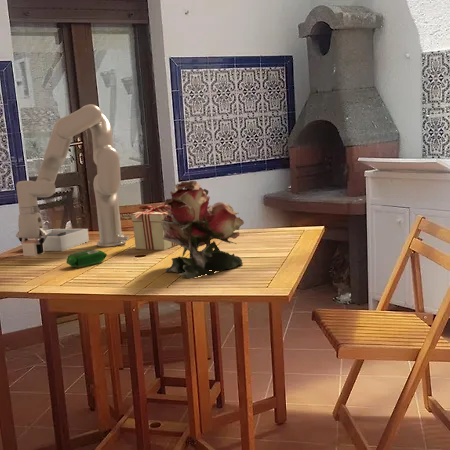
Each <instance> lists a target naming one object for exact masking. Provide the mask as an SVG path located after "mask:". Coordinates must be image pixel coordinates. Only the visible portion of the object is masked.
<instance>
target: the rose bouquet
mask: <svg viewBox="0 0 450 450" xmlns="http://www.w3.org/2000/svg"><path fill="white" fill-rule="evenodd" d="M203 190H204V189H203V188H202V186H201V184H199V182H198V180H197V181H196V180H190V181H188V180H187V181H183V180H182V181H180V183H177V184H175V186H174V191H172V190H171V191H170V192H169V193H170V196H171V198H166V199H165V200H164V204H163V206H165V205H167V206H168V208H165V209H167V213H168V215H167V216H166V217H165V218H164V219H163V220H162V221H163V222H162V223H161V225H162V227H163V231H164V237H163V238H162V239H164V240H167V241H170V242H173V243H176V244H178V245H177V246H180V247H182V248H183V251H182V256H180V255H179V256H177V257H173V258H171V259H170V260H172V263H171V266H169V267H167V268H166V270H165V271H166V272H165V273H170V272H171V273H172V272H174V273H177V276H181V277H184V278H187V279H188V278H193V279H195V278H194V277H198V276H201V275H205V274H207V275H209V276H212V275H215V274H214V272H215V271H220V272H222V271H225V270H230V269H234V268H236V267H238V266H239V265H243V263H244V262H243V259H241V257H240V256H238V255H235V253H232V254H231V253H229V252H225V251H222V250H221V249H220V248H219V247H218V245H217V243H216V242H215V240H220V241H222V242H225V243H228V244H231V243H232V244H235V245H237V243H236V242H233V241H231V240H229V239H233V240H234V239H235V240H236V239H237V238H238V237H240V232H239V230H240V227H241V226H243V225H244V224H245V222H244V220H243V219H241V217H237V215H239V212H237V211H234V208H233V207H232V206H231V205H230V204H229V203H225V202H223V201H222V202H221V201H217V202H215V203H213V204H211V205H209V204H210V200H211V197H210V196H209V195H207V196H206V192H204V191H203ZM235 231H236V232H235ZM212 240H213V242H211V241H212ZM202 246H203V247H204V246H205V247H204V248H203V249H202V250H200V251H199V247H202ZM187 251H189V257H185V254H186V252H187ZM209 270H212V271H209ZM184 271H185V272H184Z"/></svg>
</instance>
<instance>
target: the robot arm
mask: <svg viewBox="0 0 450 450" xmlns="http://www.w3.org/2000/svg"><path fill="white" fill-rule="evenodd" d="M88 129H89V130H90V132H91V138H92V151H93V152H92V153H93V155H92V159H93V162H94V164H95V165H96V172H97V174H96V175H95V176H94V178H93V192H94V196H95V204H96V214H97V216H96V217H97V223H98V224H97V226H98V234H99V241H97V242H96V246H97V247H102V248H105V247H116V246H122V245H125V244H126V243H127V241H129V239H130V235H125V232H122V223H121V215H120V204H119V203H120V201H119V195H118V191H120V189H121V185H122V184H121V183H122V181H121V179H122V177H121V163H120V156H119V153H118V151H117V149H115V148H114V137H113V129H112V126H111V123H110V121H109V119H108V118H107V116H106V115H104V114H103V112H102V110H101V108H99V106H97V105H96V104H93V103H92V104H91V103H90V104H85V105H84V106H82V107H81V108H79V109H77V110H76V111H73V112H72V113H70V114H68V115H65V116H64V117H60V118H59V119H57V120H56V121H55V122H54V125H53V127H52V131H51V134H50V137H49V140H48V143H47V146H46V149H45V152H44V156H43V159H42V162H41V165H40V167H39V170H38V171H39V172H38V175H37V177H36V180H20V181H17V182H16V186H15V187H16V194H17V195H16V196H17V203H18V212H19V214H18V220H17V221H18V232H17V233H16V235H15V237H16V239H18V241H19V242H20V243H21V245H22V242H23V241H27V240H29V238H35V239H36V241H37V245H36V246H37V254H40V255H42V254H41V253H43V243H44V241H45V239H46V238H47V236H48V234H47V233H46V232H45V231H46V230H45V226H44V220H43V217H42V213H40V212H39V211H41V209H40V207H39V205H38V198H49V197H51V196H53V195H54V194H55V193H56V184H55V182H56V179H57V176H58V175H59V174H58V173H59V170H60V169H61V167H62V166H63V164H64V163H65V160H66V158H67V156H68V153H69V149H70V145H71V143H72V140H73V137H74V136H77V135H79V134H81V133H83V132H85V131H86V130H88ZM41 236H43V237H41ZM43 254H44V253H43Z"/></svg>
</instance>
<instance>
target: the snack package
mask: <svg viewBox="0 0 450 450" xmlns="http://www.w3.org/2000/svg"><path fill="white" fill-rule="evenodd" d="M107 255H108V254H107V253H105V251H102V250H101V249H88V250H83V251H79V252H74V253H73V252H72V253H70V254H69V255H68V256H67V258H66V265H69V266H70V267H73V268H76V269H81V268H85V267H89V266H94V265H97V264H101V263H102V262H103V261H104V260H105V259H106V258H107Z"/></svg>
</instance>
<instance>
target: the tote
mask: <svg viewBox="0 0 450 450" xmlns="http://www.w3.org/2000/svg"><path fill="white" fill-rule="evenodd" d="M45 232H46V233H47V234H48V233H52V232H66V235H63V236H60V237H47V238H46V239H45V241H44V243H43V244H44V252H47V251H48V252H63V251H64V252H65V251H66V249H67V250H70V249H72V247H73V248H75V247H74V246H76V247H78V246H77V245H79V246H81V245H83V244H82V243H84V244H86V243H85V242H87V243H89V242H90V239H89V238H90V237H89V229H88V228H53V229H52V228H51V229H46V230H45ZM41 237H43V236H41ZM30 239H35V238H29V240H30ZM88 241H89V242H88ZM80 244H81V245H80ZM69 248H70V249H69Z"/></svg>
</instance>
